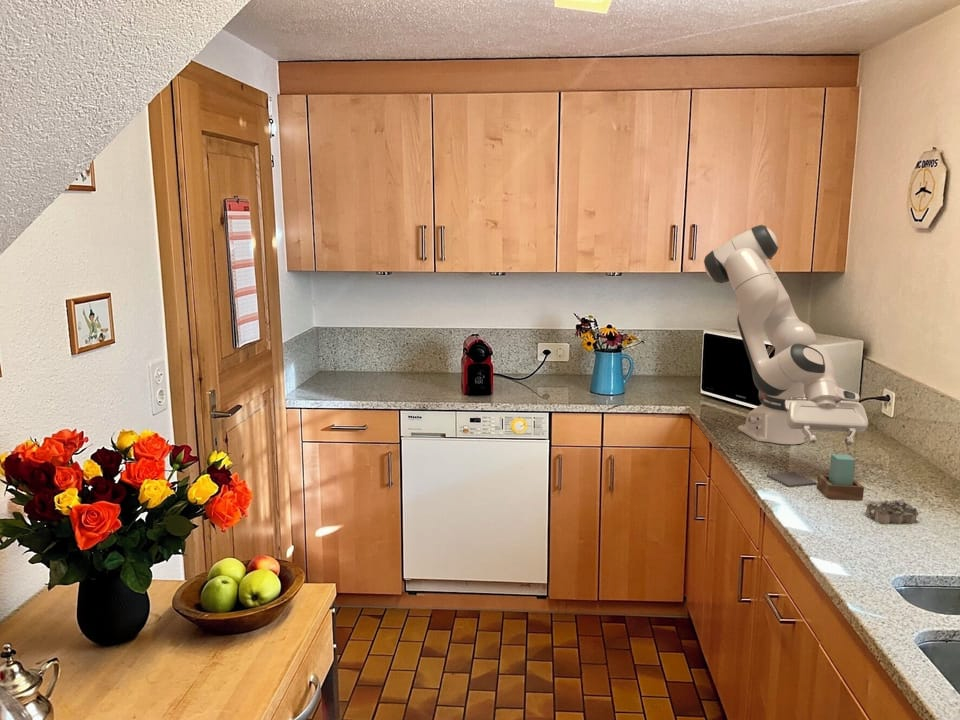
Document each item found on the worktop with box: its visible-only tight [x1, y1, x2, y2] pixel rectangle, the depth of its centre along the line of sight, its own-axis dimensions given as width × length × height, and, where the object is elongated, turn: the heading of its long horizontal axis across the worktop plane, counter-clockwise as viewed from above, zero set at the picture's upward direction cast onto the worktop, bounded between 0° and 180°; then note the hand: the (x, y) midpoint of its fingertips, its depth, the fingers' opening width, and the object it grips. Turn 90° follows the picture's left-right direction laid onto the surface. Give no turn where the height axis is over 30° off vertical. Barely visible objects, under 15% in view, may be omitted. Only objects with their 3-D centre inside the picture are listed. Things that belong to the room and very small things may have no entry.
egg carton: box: [863, 498, 922, 525], centre depth 182 cm, size 11×8×4 cm
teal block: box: [828, 453, 856, 486], centre depth 197 cm, size 4×4×10 cm
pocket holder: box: [816, 474, 865, 501], centre depth 197 cm, size 8×8×4 cm
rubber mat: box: [765, 471, 817, 488], centre depth 207 cm, size 9×9×1 cm
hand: (830, 443), depth 202 cm, fingers open, 8 cm apart
